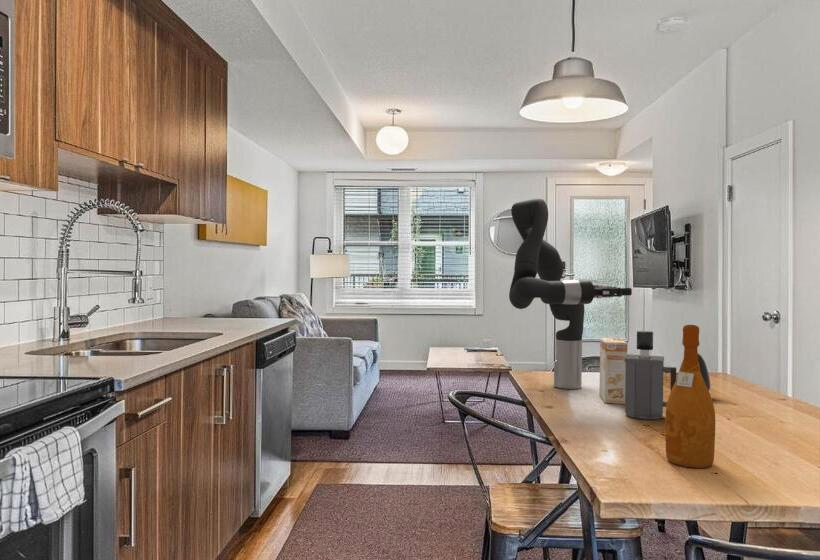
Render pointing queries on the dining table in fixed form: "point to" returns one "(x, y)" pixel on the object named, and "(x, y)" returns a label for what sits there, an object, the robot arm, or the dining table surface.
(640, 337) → the plunger
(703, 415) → the wine bottle
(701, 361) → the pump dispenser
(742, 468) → the dining table surface
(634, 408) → the press body
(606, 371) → the coffeecake box
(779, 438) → the dining table surface
